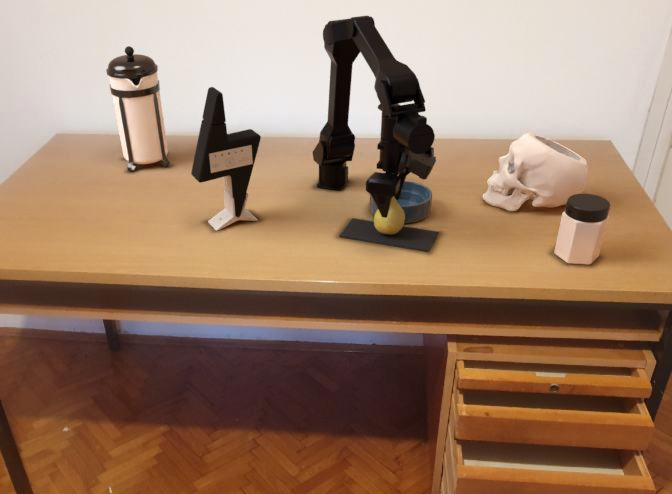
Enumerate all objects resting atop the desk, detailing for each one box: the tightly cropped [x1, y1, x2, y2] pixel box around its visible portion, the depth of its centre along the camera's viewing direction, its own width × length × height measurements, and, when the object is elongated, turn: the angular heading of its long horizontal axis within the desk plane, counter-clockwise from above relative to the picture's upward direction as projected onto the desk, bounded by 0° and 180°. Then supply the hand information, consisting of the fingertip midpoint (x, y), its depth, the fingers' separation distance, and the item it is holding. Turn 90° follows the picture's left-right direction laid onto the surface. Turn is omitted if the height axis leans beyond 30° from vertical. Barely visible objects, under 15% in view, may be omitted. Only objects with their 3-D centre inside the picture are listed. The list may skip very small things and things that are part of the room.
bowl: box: [368, 180, 433, 224], centre depth 163 cm, size 14×14×4 cm
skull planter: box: [481, 132, 589, 212], centre depth 162 cm, size 14×20×19 cm
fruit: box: [373, 196, 405, 235], centre depth 151 cm, size 7×8×12 cm
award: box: [191, 86, 262, 232], centre depth 153 cm, size 15×5×30 cm, turn 117°
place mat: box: [339, 217, 439, 253], centre depth 155 cm, size 20×9×1 cm, turn 68°
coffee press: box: [105, 46, 171, 173], centre depth 184 cm, size 17×16×30 cm
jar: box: [553, 193, 611, 266], centre depth 142 cm, size 9×8×12 cm
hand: (390, 208), depth 151 cm, fingers open, 9 cm apart
